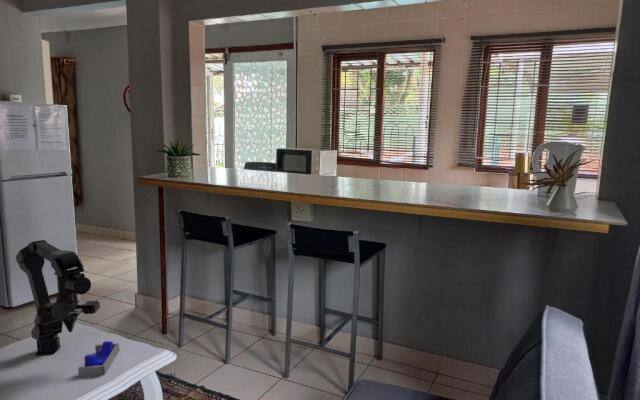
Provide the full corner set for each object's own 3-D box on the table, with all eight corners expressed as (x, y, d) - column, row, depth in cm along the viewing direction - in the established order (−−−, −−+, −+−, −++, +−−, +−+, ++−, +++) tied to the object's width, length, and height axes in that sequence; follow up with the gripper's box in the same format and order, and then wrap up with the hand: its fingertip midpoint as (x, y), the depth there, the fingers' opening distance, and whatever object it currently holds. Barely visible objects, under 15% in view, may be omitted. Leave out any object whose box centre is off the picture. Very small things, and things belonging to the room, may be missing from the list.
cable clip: (102, 356, 168) (101, 340, 167) (113, 357, 167) (112, 341, 166) (81, 373, 156) (80, 356, 155) (93, 373, 155) (92, 357, 155)
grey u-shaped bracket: (78, 376, 153) (78, 368, 153) (96, 352, 171) (95, 344, 170) (104, 374, 154) (104, 366, 154) (119, 350, 172) (119, 343, 171)
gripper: (26, 298, 149) (30, 343, 151) (87, 295, 152) (90, 340, 154) (42, 287, 160) (46, 329, 162) (99, 284, 163) (101, 326, 165)
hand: (70, 331), depth 160 cm, fingers closed
